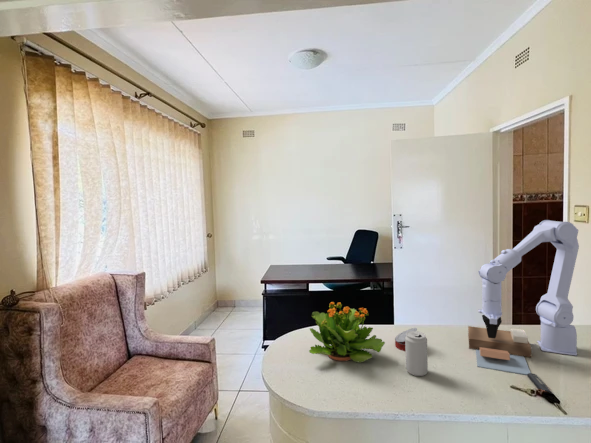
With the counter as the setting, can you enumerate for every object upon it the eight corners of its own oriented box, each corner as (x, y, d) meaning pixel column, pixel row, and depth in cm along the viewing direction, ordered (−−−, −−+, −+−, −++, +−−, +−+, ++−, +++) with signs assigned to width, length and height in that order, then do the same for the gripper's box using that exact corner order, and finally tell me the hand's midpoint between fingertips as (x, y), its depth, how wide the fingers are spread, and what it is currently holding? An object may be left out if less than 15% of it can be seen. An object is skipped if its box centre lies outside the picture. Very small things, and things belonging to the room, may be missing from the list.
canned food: (411, 363, 116) (405, 346, 112) (392, 351, 123) (386, 334, 120) (429, 344, 119) (423, 327, 116) (409, 334, 127) (403, 317, 123)
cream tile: (524, 335, 117) (524, 329, 117) (527, 343, 110) (527, 337, 110) (510, 333, 118) (510, 328, 118) (513, 341, 112) (513, 336, 112)
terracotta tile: (509, 353, 103) (509, 360, 103) (507, 351, 109) (507, 357, 108) (480, 349, 107) (480, 355, 106) (479, 347, 112) (479, 353, 112)
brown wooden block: (524, 342, 119) (524, 332, 119) (531, 357, 108) (531, 347, 108) (468, 335, 127) (468, 326, 127) (469, 348, 116) (469, 338, 116)
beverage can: (417, 379, 98) (416, 340, 97) (401, 370, 104) (400, 333, 103) (432, 373, 101) (431, 335, 100) (415, 364, 107) (415, 328, 106)
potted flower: (324, 380, 100) (322, 324, 99) (292, 349, 121) (290, 302, 120) (389, 360, 110) (388, 309, 109) (350, 334, 132) (348, 292, 130)
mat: (524, 357, 108) (524, 356, 108) (531, 375, 97) (531, 374, 97) (475, 350, 114) (475, 349, 114) (477, 366, 104) (477, 366, 104)
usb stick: (553, 396, 88) (553, 391, 88) (541, 395, 89) (541, 390, 88) (536, 377, 97) (536, 372, 97) (526, 377, 98) (526, 372, 98)
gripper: (477, 292, 121) (477, 327, 122) (479, 304, 109) (479, 344, 110) (499, 293, 118) (499, 330, 119) (504, 306, 105) (504, 347, 106)
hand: (491, 337), depth 114 cm, fingers closed
